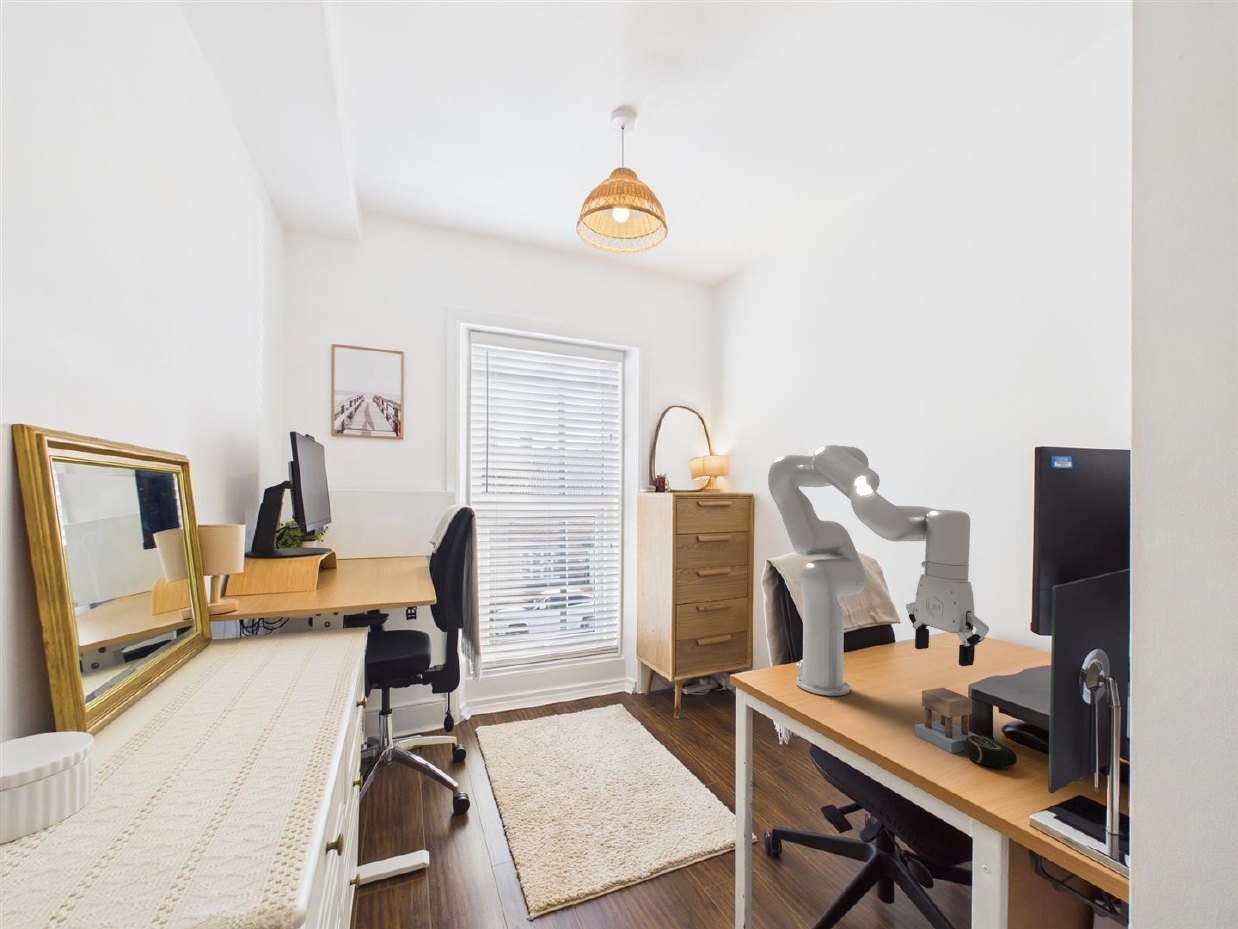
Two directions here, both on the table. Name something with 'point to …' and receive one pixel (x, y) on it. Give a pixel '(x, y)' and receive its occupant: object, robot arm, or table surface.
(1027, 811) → the table surface
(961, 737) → the plinth
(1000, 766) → the tape measure
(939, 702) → the stool
